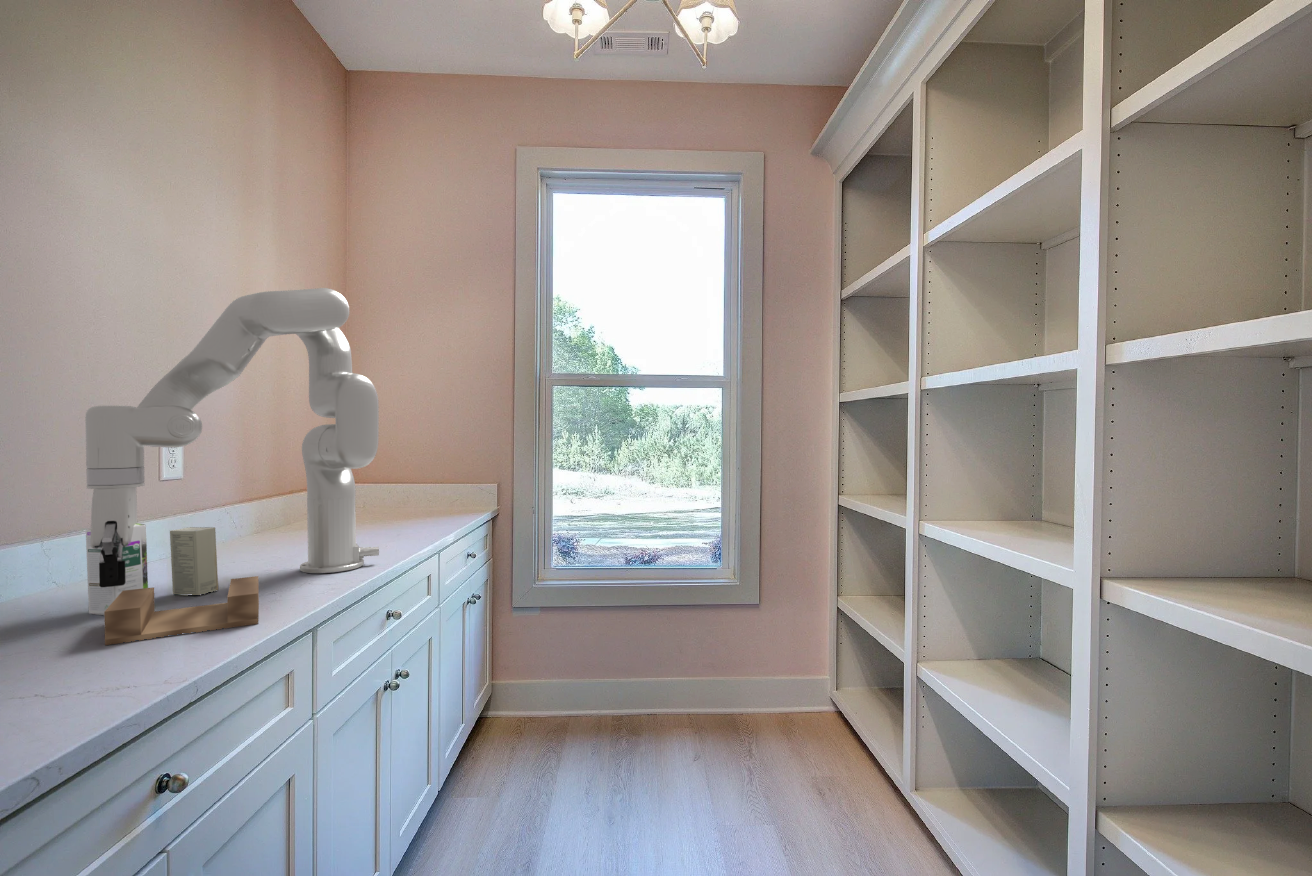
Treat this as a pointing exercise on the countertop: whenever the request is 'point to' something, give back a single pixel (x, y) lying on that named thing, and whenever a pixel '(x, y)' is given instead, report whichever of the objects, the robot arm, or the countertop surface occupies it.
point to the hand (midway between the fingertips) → (118, 580)
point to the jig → (179, 614)
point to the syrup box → (133, 570)
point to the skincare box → (194, 560)
